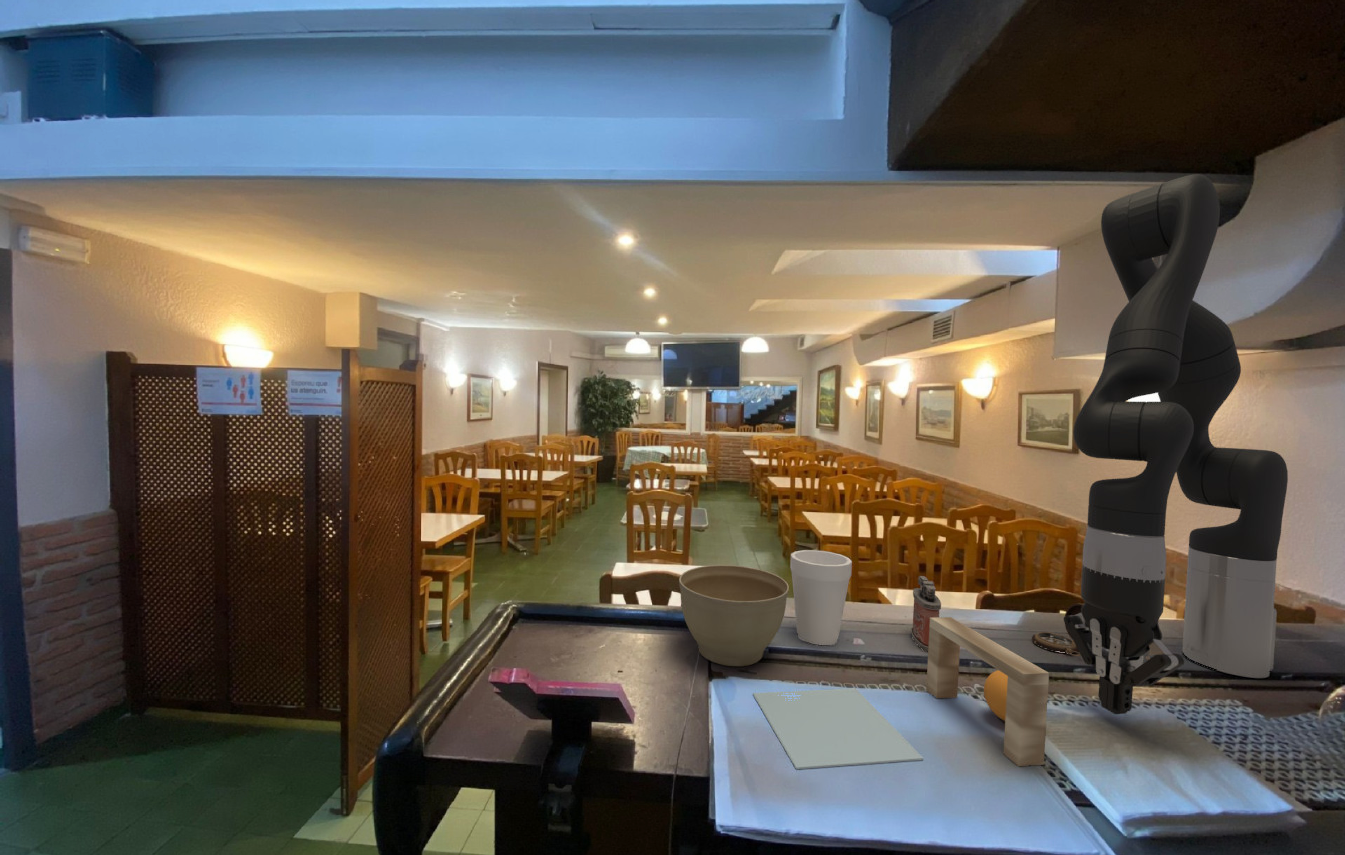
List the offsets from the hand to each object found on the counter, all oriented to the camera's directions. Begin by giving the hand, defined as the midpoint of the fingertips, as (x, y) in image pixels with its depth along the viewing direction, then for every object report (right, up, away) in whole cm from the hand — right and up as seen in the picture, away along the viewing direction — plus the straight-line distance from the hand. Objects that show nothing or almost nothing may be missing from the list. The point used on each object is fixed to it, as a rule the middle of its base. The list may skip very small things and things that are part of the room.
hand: (1113, 710), depth 63 cm
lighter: (-13, -1, +21) cm, 25 cm away
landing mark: (-35, 0, -3) cm, 35 cm away
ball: (-13, +2, -1) cm, 13 cm away
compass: (+9, -2, +21) cm, 23 cm away
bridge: (-17, -1, -1) cm, 17 cm away
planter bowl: (-45, 0, +15) cm, 47 cm away
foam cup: (-30, 0, +22) cm, 37 cm away
